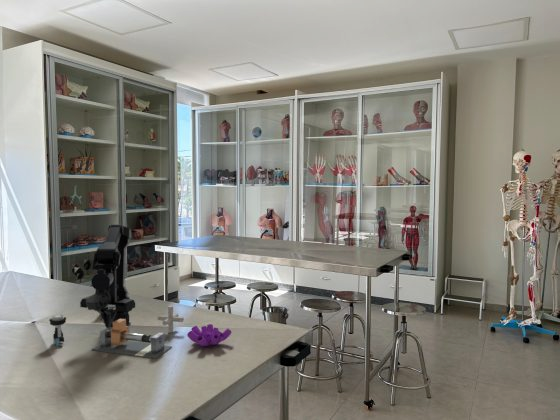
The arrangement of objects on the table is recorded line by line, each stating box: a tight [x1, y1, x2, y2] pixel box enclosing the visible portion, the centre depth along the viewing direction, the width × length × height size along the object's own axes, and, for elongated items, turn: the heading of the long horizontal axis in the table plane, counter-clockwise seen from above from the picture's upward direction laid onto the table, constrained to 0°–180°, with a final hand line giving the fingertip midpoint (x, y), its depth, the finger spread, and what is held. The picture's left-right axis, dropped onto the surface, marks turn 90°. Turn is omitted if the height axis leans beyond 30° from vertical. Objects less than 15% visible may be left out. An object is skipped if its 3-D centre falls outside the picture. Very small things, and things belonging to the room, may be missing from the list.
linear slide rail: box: [99, 327, 165, 354], centre depth 146 cm, size 22×5×5 cm, turn 75°
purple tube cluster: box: [186, 323, 232, 347], centre depth 151 cm, size 11×15×10 cm
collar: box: [111, 319, 129, 346], centre depth 148 cm, size 3×5×8 cm, turn 165°
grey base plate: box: [91, 340, 173, 360], centre depth 147 cm, size 25×10×1 cm, turn 75°
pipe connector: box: [157, 305, 185, 333], centre depth 163 cm, size 10×10×10 cm
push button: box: [48, 314, 67, 347], centre depth 150 cm, size 7×5×10 cm
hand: (108, 327), depth 149 cm, fingers closed
